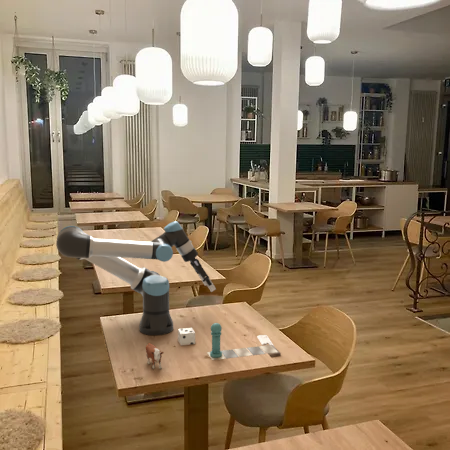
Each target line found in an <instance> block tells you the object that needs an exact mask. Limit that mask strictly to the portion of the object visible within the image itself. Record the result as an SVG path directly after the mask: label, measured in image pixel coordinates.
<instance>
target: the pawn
mask: <svg viewBox="0 0 450 450" xmlns="http://www.w3.org/2000/svg"><path fill="white" fill-rule="evenodd" d="M222 329H223V328H222V325H221V323H218V322H214V323H212V324H211V326H210V331H211V332H210V336H211V351H209V352H210V356H211V357H213V358H219V357H221V356H222V355H223V354H222V352H221V351H222V350H221V335H222ZM210 356H209V357H210Z"/></svg>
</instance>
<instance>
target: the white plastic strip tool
mask: <svg viewBox="0 0 450 450" xmlns="http://www.w3.org/2000/svg"><path fill="white" fill-rule="evenodd" d="M256 338H257V339H258V341H259V342H260V344H261V346H264V345H273V346H274V347H275V345H274V344H273V342H272V340H271V339H270V337H269V336H268V335H267V334H259V335H257V336H256Z"/></svg>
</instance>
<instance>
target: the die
mask: <svg viewBox="0 0 450 450" xmlns="http://www.w3.org/2000/svg"><path fill="white" fill-rule="evenodd" d="M177 341H178V343H179V345H180V346H188V345H196V332H195V330H194V328H193V327H185V328H177Z"/></svg>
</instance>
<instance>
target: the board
mask: <svg viewBox="0 0 450 450" xmlns="http://www.w3.org/2000/svg"><path fill="white" fill-rule="evenodd" d="M273 345H274V344H273ZM273 345H269V344H266V345H265V344H264V345H260V346H258V345H257V346H251V347H250V346H249V347H242V348H232V349H224V350H220V351H221V352H222V356H221V357H219V358H213V357H211V356H210V352H211V351H208V352H206V353H207V355H208V356H209V357H210V360H212V361H218V360H225V359H227V360H228V359H234V358H243V357H251V356H258V355H266V354H267V355H269V357H271V358H272V357H279V356H282V355H281V353H282V352H280V351H279V350H278V349H277V348H276V347H275V345H274V346H273Z"/></svg>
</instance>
